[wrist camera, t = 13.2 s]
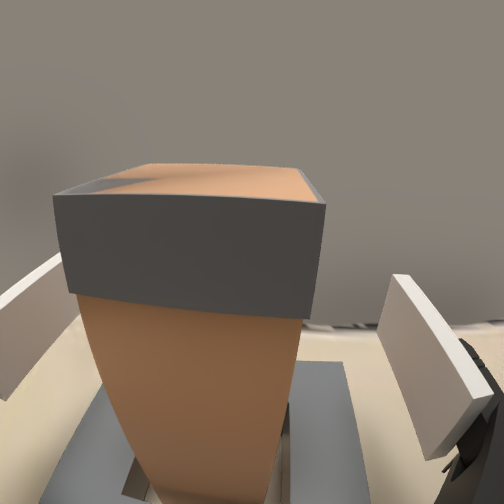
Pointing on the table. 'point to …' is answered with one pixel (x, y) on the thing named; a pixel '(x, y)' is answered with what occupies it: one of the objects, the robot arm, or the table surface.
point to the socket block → (293, 449)
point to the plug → (195, 313)
